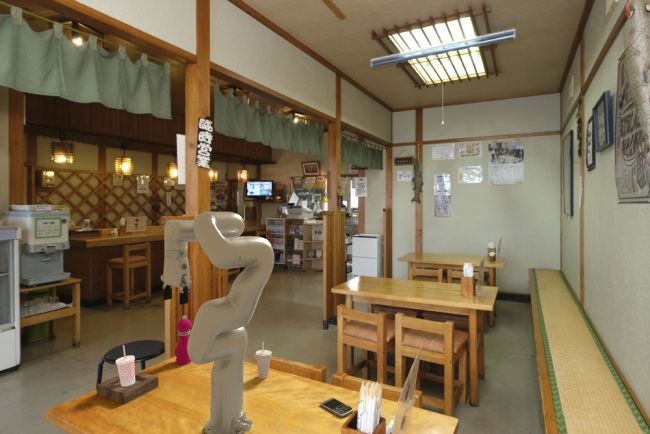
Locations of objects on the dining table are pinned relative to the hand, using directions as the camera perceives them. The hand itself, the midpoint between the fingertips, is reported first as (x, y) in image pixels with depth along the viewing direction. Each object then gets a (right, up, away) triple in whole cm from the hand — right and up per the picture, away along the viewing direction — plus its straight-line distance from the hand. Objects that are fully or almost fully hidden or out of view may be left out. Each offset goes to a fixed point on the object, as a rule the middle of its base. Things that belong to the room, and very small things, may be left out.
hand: (175, 301), depth 137 cm
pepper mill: (-7, -32, +26) cm, 41 cm away
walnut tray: (-17, -33, -1) cm, 37 cm away
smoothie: (+29, -33, +13) cm, 46 cm away
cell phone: (+58, -35, -9) cm, 68 cm away
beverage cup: (-17, -30, -1) cm, 34 cm away
